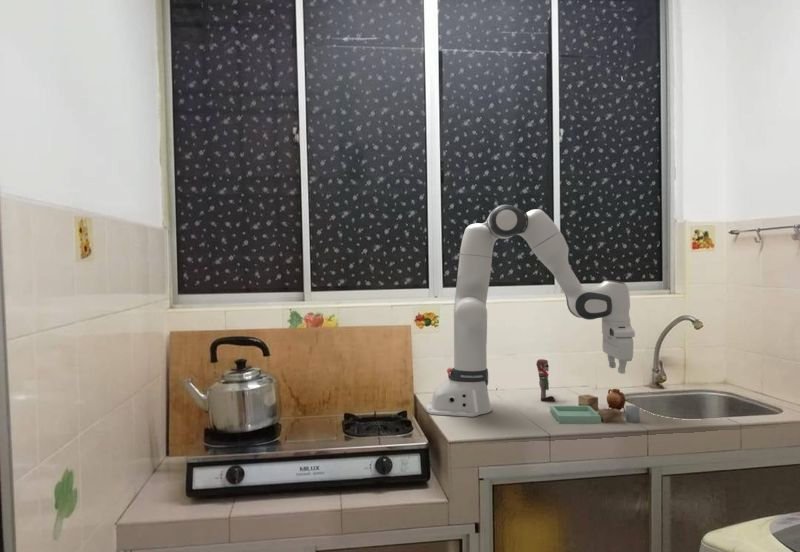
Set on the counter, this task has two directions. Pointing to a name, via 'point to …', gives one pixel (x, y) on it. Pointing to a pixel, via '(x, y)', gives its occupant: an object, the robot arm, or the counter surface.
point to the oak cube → (588, 401)
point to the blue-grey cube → (633, 414)
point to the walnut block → (610, 415)
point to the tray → (575, 414)
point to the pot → (616, 399)
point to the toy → (544, 380)
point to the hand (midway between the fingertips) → (616, 370)
